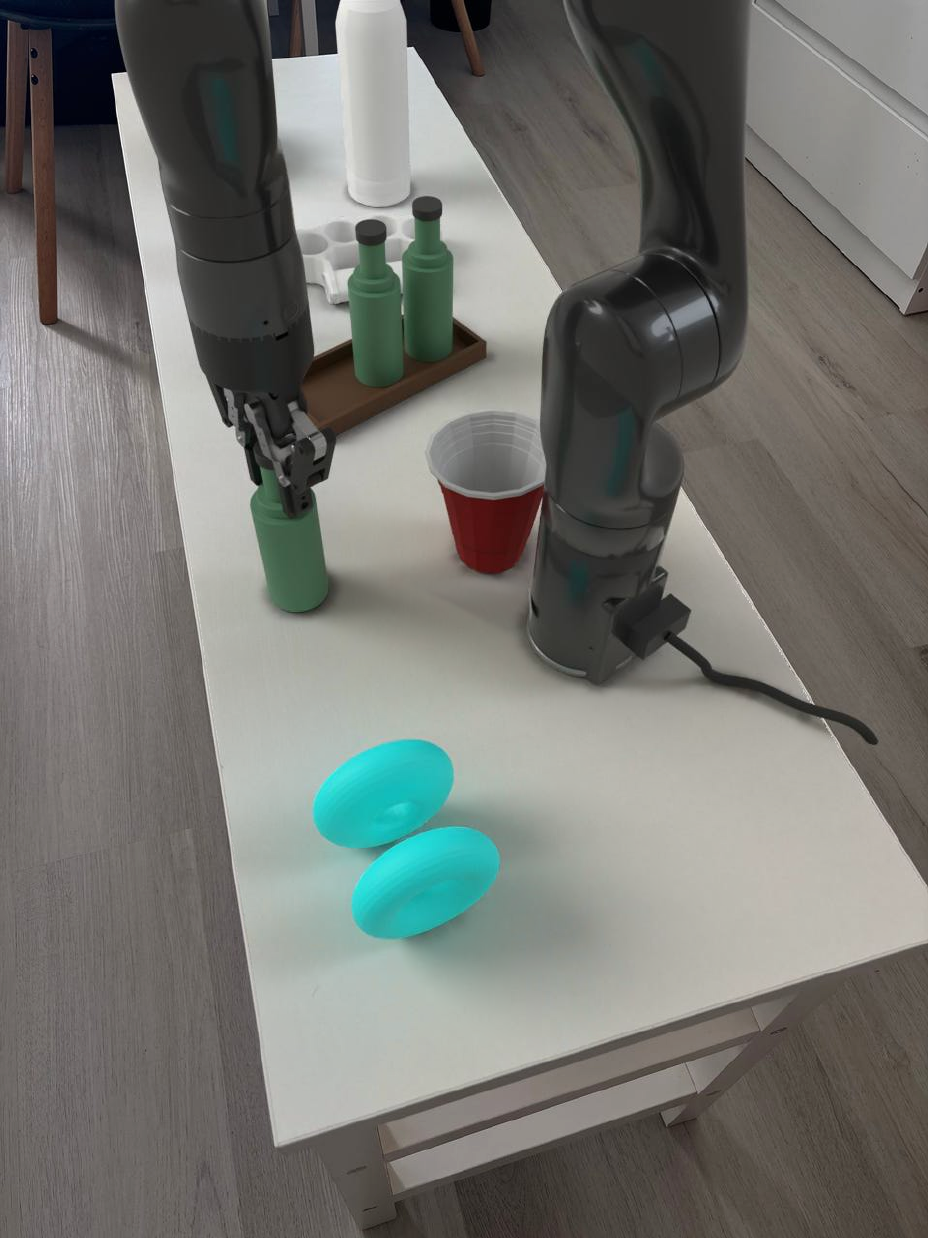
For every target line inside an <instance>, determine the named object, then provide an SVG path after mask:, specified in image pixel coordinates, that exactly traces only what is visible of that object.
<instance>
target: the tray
mask: <svg viewBox="0 0 928 1238" xmlns="http://www.w3.org/2000/svg"><path fill="white" fill-rule="evenodd" d="M402 337H403V365H404V373H403V376H402V378H401V379H400V380H399V381H398V382H397V383H395V384H393V385H391V386H387V387H370V386H367V385H364V384H363V383H361V382H360V381H359V380H358V379H357V378H356V376H355V368H354V356H353V344H352V338H350V339H348V340H346V341H344V342H341V343H340V344H338V345H336V346H334V347H332V348H329V349H327V350H325V351H322V352H320V353H319V354H317V355H314V358H313V361H312V363H311V365H310V367H309V369H308V370H307V372H306V374H305V376H304V378H303V380H302V383H301V386H302V389H303V393H304V395H305V398H306V400H307V403H308V414H307V416H308V418H309V419H310V420H311V422H312V423H313V424H314V425H315V427H316V428H317V429H318V430H320V429H322V428H324V427H326V426H328V427H330V428H331V429H332V430H333V432H334V434H335V436H336V437H337V436H338V435H340V434H342V433H344V432H346V431H347V430H349V429H352V428H353V427H356V426H357V425H359V424H361V423H363V422H365V421H368V419H371V418H373V417H375V416H376V415H379V414H380V413H382V412H384V411H386V410H388V409H390V408H391V407H394V406H396V405H398V404H399V403H401V402H403V401H405V400H407V399H409V398H411V397H413V396H415V395H417V394H419V393H421V392H423V391H424V390H427V389H428V388H430V387H432V386H434V385H436V384H438V383H440V382H442V381H444V380H446V379H448V378H450V377H452V376H453V375H455V374H458V373H459V372H461V371H463V370H465V369H467V368H469V367H471V366H473V365H474V364H476V363H478V362H480V361H483V360H484V359H486V358H487V348H488V342H487V340H485V339H484V338H482V337H481V336H480V335H478V334H477V333H475V332H474V331H473V330H472V329H470V328H469V327H467V326H466V325H464V324H463V323H462V322H461V321H459V320H458V319H456V318H455V317H454V316H453V333H452V351H451V353H450V354H449V355H448V356H447V357H446V358H444V359H442V360H440V361H436V362H421V361H418V360H415V359H413V358H411V357H410V356H409V355H408V354H407V353H406V350H405V337H404V313H403V314H402Z"/></svg>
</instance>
